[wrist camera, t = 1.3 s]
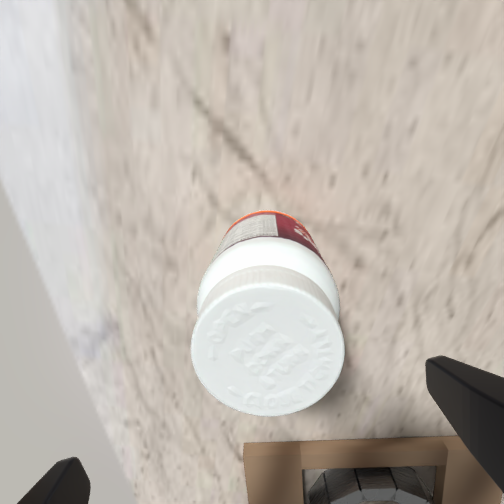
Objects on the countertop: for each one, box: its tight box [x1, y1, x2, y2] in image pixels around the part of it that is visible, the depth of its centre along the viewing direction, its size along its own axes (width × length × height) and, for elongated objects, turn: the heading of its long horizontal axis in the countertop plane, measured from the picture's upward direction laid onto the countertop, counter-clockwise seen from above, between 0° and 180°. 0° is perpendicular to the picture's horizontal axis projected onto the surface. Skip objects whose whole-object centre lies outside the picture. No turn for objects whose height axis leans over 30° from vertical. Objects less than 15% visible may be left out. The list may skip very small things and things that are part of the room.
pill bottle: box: [191, 210, 345, 417], centre depth 16 cm, size 6×6×11 cm
